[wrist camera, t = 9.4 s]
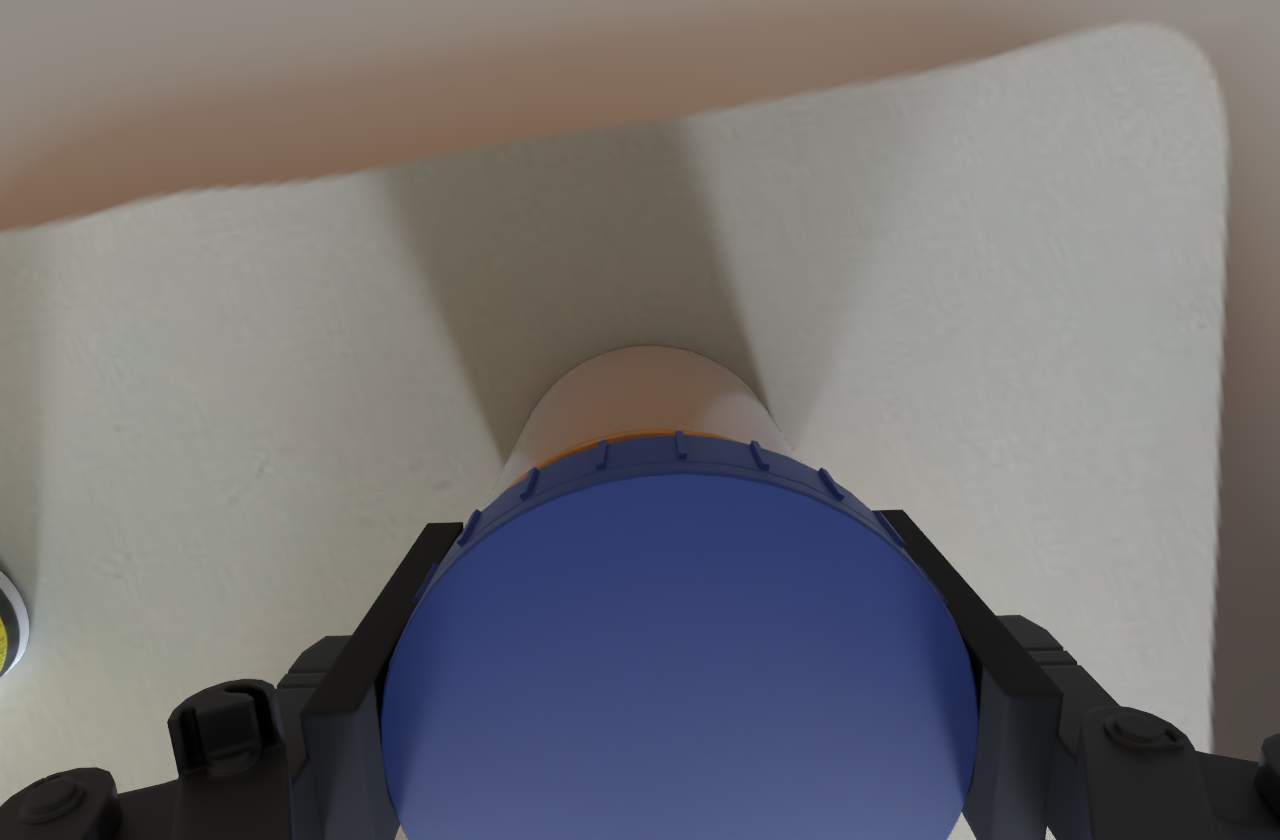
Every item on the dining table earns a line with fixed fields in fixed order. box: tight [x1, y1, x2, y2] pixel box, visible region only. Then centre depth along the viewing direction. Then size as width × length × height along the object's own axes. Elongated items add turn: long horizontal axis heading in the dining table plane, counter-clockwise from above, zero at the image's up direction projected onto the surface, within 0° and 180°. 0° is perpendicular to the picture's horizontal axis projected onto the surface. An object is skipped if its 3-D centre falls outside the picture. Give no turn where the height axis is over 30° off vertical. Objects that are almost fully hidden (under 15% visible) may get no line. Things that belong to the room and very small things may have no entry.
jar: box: [483, 346, 803, 510], centre depth 18 cm, size 8×8×10 cm
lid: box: [380, 431, 979, 840], centre depth 12 cm, size 9×9×2 cm
